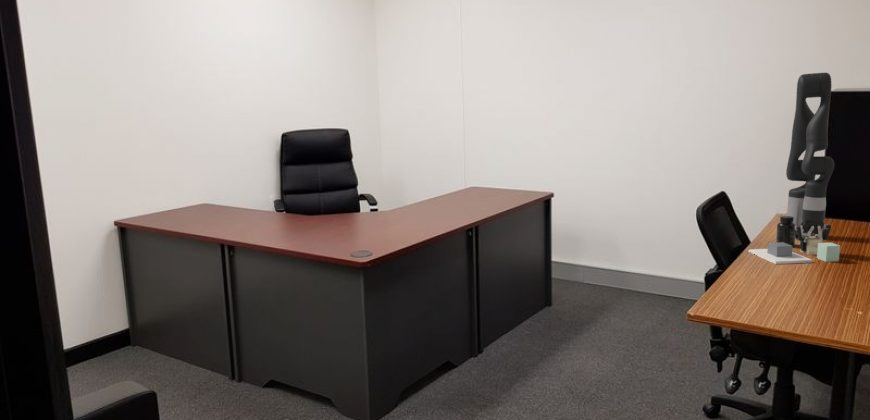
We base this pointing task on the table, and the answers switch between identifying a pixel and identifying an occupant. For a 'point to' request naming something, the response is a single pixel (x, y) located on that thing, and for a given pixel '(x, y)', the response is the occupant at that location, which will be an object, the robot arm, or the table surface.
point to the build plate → (780, 259)
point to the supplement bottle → (786, 230)
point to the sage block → (828, 252)
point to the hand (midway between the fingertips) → (810, 250)
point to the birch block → (812, 245)
